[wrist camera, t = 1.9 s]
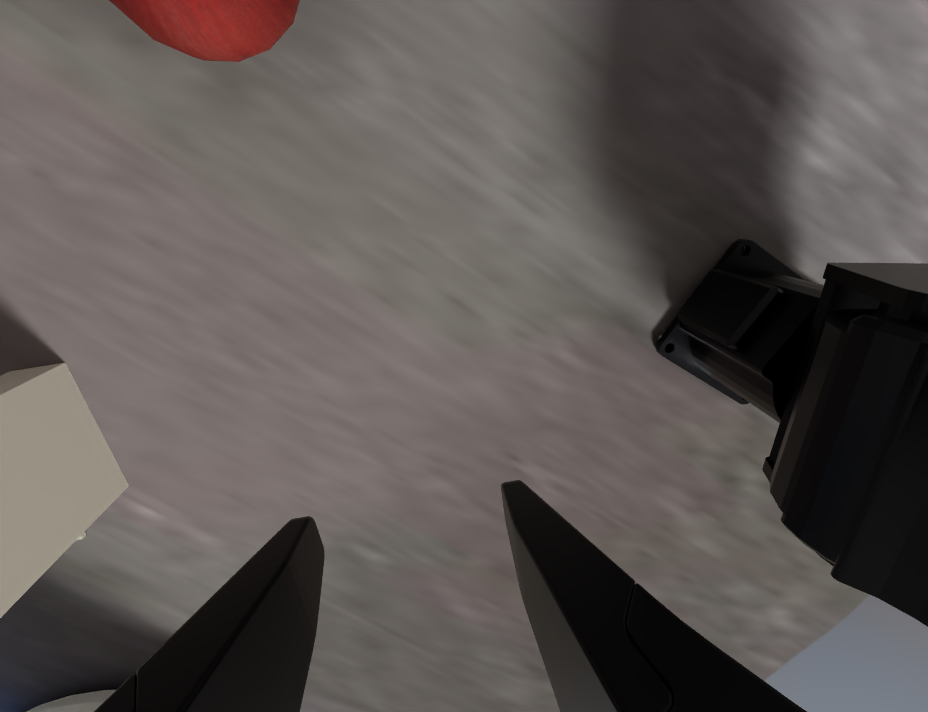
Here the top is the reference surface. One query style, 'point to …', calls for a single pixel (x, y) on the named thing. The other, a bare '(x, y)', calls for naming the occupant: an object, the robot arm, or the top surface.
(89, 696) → the pot
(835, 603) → the top surface
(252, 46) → the onion
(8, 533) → the beige rectangular block
